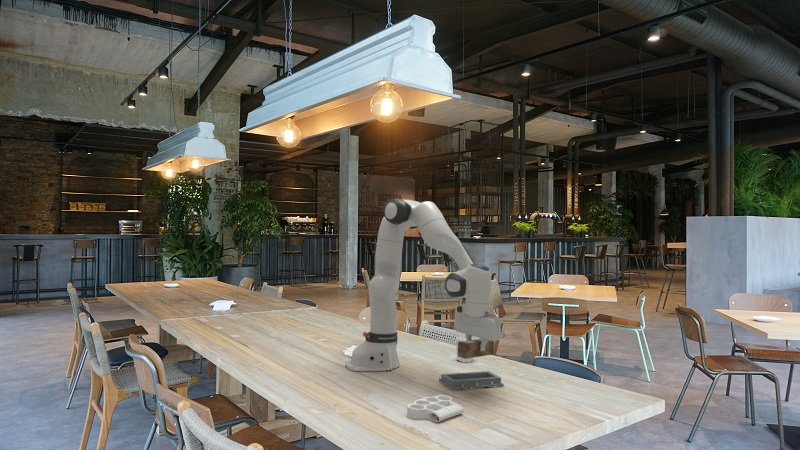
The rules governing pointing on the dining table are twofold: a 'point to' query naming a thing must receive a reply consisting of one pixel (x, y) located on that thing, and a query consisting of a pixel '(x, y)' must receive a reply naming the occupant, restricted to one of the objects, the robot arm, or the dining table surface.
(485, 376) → the dark grey rectangular tray
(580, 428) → the dining table surface
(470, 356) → the frame block
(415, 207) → the robot arm
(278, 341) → the dining table surface
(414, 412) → the light grey compartment holder
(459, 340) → the white cup
